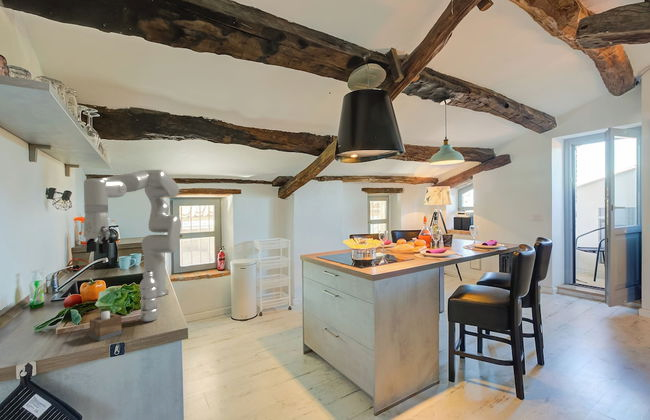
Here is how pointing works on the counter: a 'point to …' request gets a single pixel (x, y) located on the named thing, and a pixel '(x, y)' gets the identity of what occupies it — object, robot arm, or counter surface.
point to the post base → (105, 316)
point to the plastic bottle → (148, 297)
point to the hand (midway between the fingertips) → (97, 252)
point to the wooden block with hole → (105, 325)
